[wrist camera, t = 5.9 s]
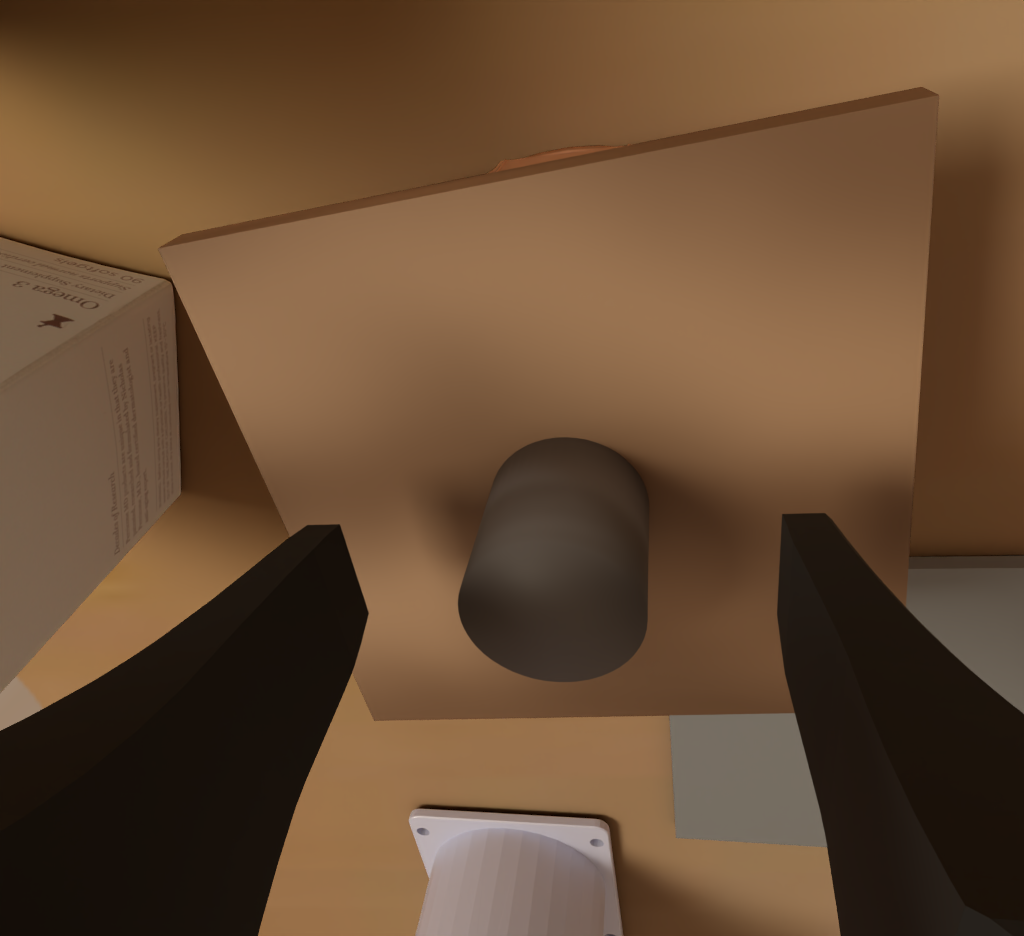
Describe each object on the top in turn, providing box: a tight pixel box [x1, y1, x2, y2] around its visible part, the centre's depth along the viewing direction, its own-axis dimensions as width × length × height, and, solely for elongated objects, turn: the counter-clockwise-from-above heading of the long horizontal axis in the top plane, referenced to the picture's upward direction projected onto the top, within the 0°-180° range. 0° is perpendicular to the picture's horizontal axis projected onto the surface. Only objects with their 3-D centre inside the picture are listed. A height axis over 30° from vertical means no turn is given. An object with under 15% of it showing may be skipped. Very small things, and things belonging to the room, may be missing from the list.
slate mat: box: [670, 556, 1024, 847], centre depth 24 cm, size 13×13×1 cm
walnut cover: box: [158, 87, 939, 721], centre depth 14 cm, size 12×12×4 cm
